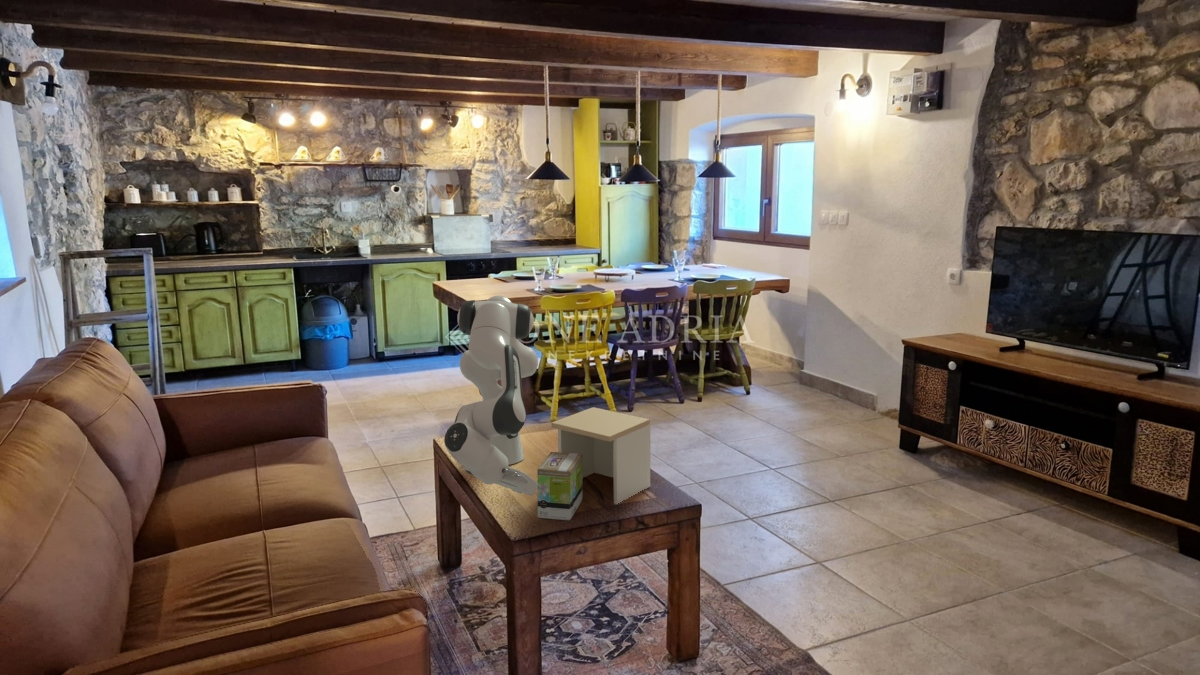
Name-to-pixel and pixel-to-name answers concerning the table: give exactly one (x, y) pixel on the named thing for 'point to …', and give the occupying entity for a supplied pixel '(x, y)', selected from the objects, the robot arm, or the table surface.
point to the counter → (609, 447)
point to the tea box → (560, 485)
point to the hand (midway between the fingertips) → (518, 489)
